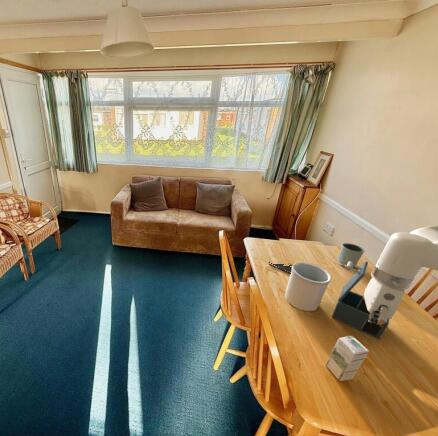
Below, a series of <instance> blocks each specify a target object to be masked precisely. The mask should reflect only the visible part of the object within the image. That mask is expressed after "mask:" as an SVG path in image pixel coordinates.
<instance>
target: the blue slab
mask: <svg viewBox="0 0 438 436" xmlns="http://www.w3.org/2000/svg"><path fill="white" fill-rule="evenodd" d="M368 264H369V261H364V263H362V264H361V266H359V265H358V264H357V265H355V264H353V262H351V261H349V262H348V263H347V266H346V268H345V269H346V270H347V271H352V272H354V274H353V275H352V276H351V277H350V279H349V280H348V281H347V282H346V283H345V285H343V286H342V289H341V291H340V294H339V296H338V299H337V302H338V301H339V302H340V301H341V300H342V299H343V298H344V297H345V296H346V295H347V294H348V293H349V292H350V291H352V290H353V289H354V288H355V286H356V285H358V283H359V282H360V281H362V279H363V278H364V277H365V275H366V271H367V268H368ZM352 266H354V267H355V268H356V269H355V268H352Z"/></svg>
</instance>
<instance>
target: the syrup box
mask: <svg viewBox="0 0 438 436" xmlns="http://www.w3.org/2000/svg"><path fill="white" fill-rule="evenodd" d="M369 353H370V350H369V349H368V348H367V347H365V346H364V345H363V344H362V343H361V342H360V341H359V340H358V339H356V337H355V336H353V335H347V336H342V337H339V338H338V339H337V341H336V343H335V345H334V346H333V348H332V351H331V353H330V355H329V357H328V359H327V361H326V363H325V367H326V368H327V369H328V371H330V372H331V374H332V375H333V376H334V377H335V378H336V380H337V381H338V382H343V381H348V380H354V378H355V376H356V374H357V373H358V371H359V369H360V367H361V366H362V364H363V363H364V361H365V359H366V358H367V356H368V355H369Z"/></svg>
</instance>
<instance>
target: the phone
mask: <svg viewBox="0 0 438 436" xmlns="http://www.w3.org/2000/svg"><path fill="white" fill-rule="evenodd" d="M268 263H270V262H269V261H268ZM271 264H272V263H271ZM289 264H290V263H289ZM273 265H275V266H277V267H279V268H281V269H283V270H286V271H288V272H290V273H291V271H292V267H290V266H293V264H290V265H289V266H283V265H284V264H273ZM279 268H278V269H279ZM281 269H280V270H281ZM283 270H282V271H283ZM286 271H285V272H286ZM288 272H287V273H288ZM290 273H289V274H290Z"/></svg>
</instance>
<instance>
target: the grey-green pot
mask: <svg viewBox="0 0 438 436" xmlns="http://www.w3.org/2000/svg"><path fill="white" fill-rule="evenodd" d="M364 253H365V248H363V247H361V246H360V245H357V244H355V243H350V242H349V243H348V242H344V243H342V244H341V248H340V251H339V253H338V254H339V255H338V257H337V260H338V261H339V262H340V263H341V264H343V265H346V266H347V263H348V262H349V261H351V262H353V264H355V265H357V266H358V262H359V260H360V259H361V258H362V256H363V254H364ZM352 267H354V266H352Z"/></svg>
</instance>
